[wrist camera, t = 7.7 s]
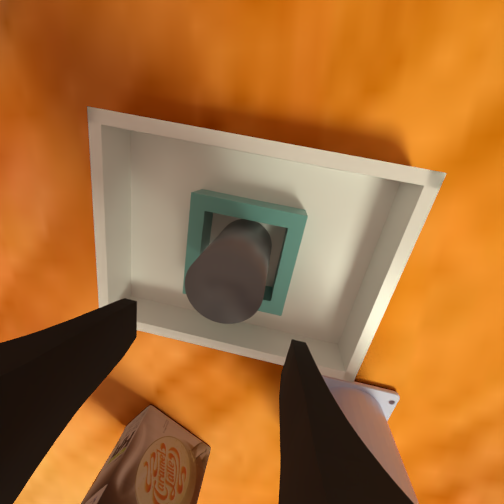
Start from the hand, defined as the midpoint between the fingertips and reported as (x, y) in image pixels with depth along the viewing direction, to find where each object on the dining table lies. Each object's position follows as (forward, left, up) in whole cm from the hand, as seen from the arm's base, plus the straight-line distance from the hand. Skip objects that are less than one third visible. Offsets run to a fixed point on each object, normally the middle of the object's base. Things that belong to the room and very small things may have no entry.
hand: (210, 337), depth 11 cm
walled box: (+1, 0, -9) cm, 9 cm away
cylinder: (+2, 0, -9) cm, 9 cm away
